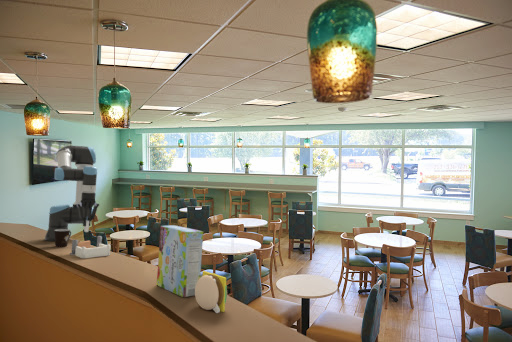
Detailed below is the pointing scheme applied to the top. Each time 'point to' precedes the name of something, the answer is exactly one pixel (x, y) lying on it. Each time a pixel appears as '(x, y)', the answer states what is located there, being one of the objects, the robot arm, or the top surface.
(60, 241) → the coffee mug
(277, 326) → the top surface
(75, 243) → the gate
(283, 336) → the top surface
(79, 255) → the paddock fence
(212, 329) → the top surface
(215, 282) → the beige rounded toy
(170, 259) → the snack box
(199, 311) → the top surface
